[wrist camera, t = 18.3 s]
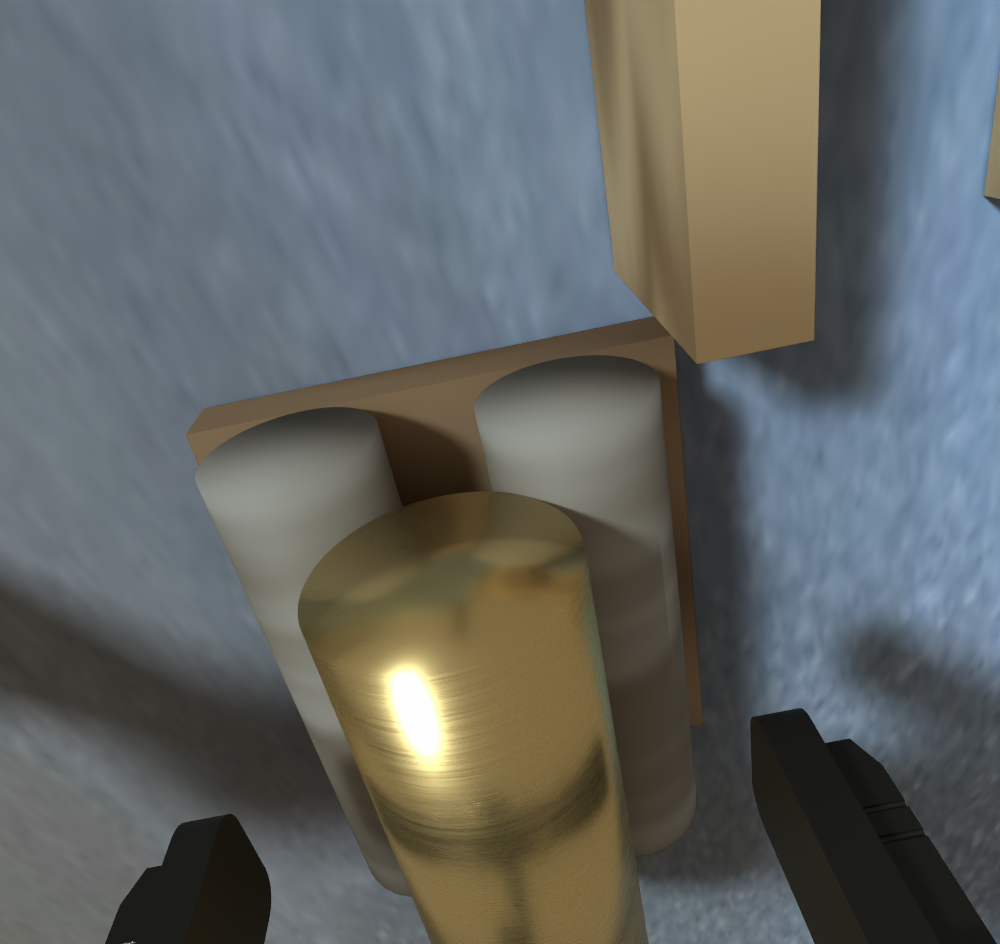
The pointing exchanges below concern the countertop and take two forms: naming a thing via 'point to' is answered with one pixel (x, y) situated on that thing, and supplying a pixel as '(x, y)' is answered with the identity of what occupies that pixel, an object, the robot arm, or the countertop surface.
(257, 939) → the robot arm
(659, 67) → the tan piece
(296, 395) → the roller stand
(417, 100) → the countertop surface
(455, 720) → the axle
